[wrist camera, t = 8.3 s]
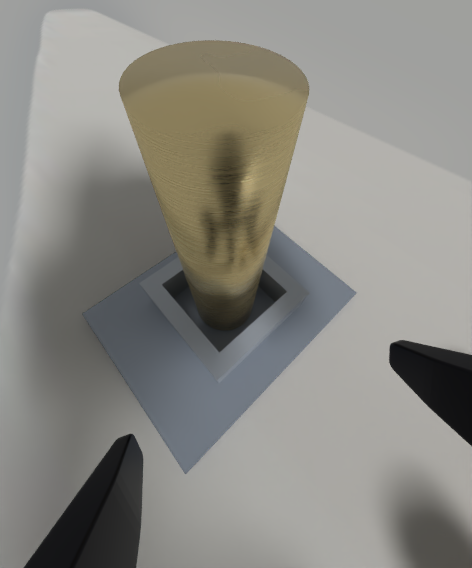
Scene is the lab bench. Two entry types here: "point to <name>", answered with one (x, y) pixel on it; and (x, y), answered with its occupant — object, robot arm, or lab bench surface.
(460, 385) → the robot arm
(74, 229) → the lab bench surface
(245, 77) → the pin long
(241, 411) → the gauge plate
